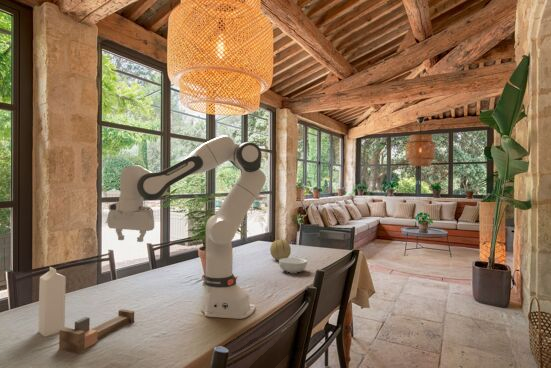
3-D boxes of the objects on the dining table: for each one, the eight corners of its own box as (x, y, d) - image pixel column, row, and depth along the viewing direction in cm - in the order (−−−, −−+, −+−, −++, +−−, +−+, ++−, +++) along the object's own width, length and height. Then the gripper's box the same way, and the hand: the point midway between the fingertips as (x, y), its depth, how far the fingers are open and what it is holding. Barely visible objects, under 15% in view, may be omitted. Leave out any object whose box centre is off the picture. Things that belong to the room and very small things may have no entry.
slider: (97, 342, 103) (97, 318, 103) (83, 349, 98) (84, 324, 98) (80, 338, 105) (80, 315, 105) (66, 345, 101) (66, 321, 101)
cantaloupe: (283, 263, 214) (284, 241, 214) (265, 260, 222) (266, 239, 222) (294, 259, 226) (295, 238, 226) (277, 256, 234) (277, 236, 234)
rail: (136, 322, 119) (136, 306, 119) (78, 354, 96) (79, 334, 96) (119, 319, 122) (119, 303, 122) (59, 349, 99) (59, 329, 99)
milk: (57, 326, 115) (59, 264, 115) (64, 330, 111) (66, 267, 112) (37, 332, 110) (39, 268, 110) (44, 337, 106) (46, 271, 107)
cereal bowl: (311, 271, 197) (311, 259, 197) (298, 277, 183) (298, 264, 183) (287, 266, 206) (287, 255, 206) (273, 272, 192) (273, 260, 192)
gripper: (158, 206, 126) (157, 241, 126) (117, 204, 133) (116, 238, 133) (147, 207, 120) (146, 244, 120) (105, 205, 127) (104, 240, 127)
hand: (130, 240), depth 127 cm, fingers open, 8 cm apart
